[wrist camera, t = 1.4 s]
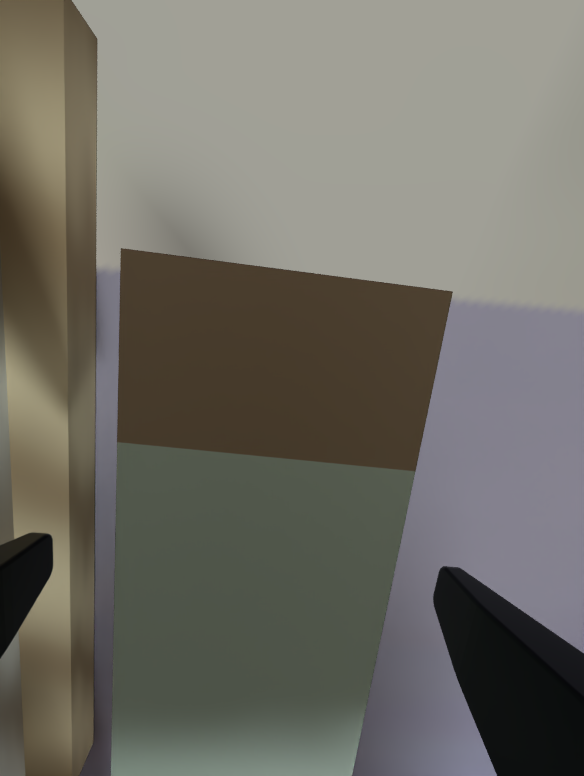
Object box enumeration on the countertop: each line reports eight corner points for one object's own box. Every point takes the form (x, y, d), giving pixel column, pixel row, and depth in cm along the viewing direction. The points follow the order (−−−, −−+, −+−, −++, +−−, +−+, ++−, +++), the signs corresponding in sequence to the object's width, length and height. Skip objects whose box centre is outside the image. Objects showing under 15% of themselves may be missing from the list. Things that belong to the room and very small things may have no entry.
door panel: (271, 629, 13) (257, 1226, 5) (218, 626, 13) (102, 1233, 5) (313, 306, 11) (452, 292, 2) (248, 297, 11) (121, 247, 2)
